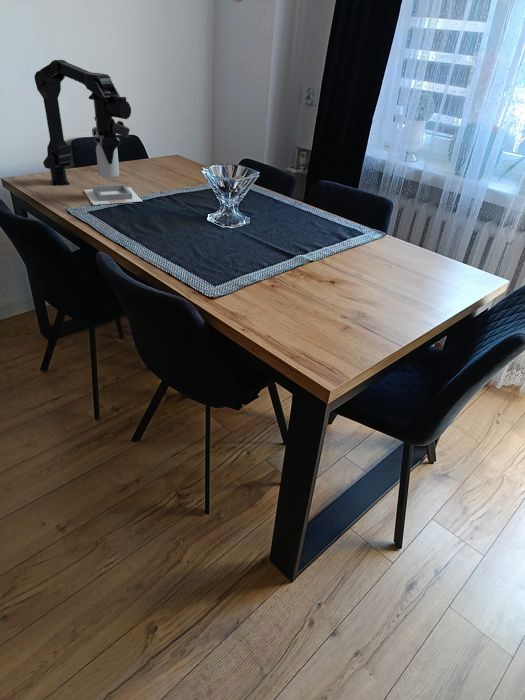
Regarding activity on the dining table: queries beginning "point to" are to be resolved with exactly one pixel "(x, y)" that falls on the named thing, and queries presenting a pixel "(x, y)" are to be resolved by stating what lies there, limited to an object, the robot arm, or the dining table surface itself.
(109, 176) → the can
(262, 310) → the dining table surface
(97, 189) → the collar plate
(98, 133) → the robot arm
